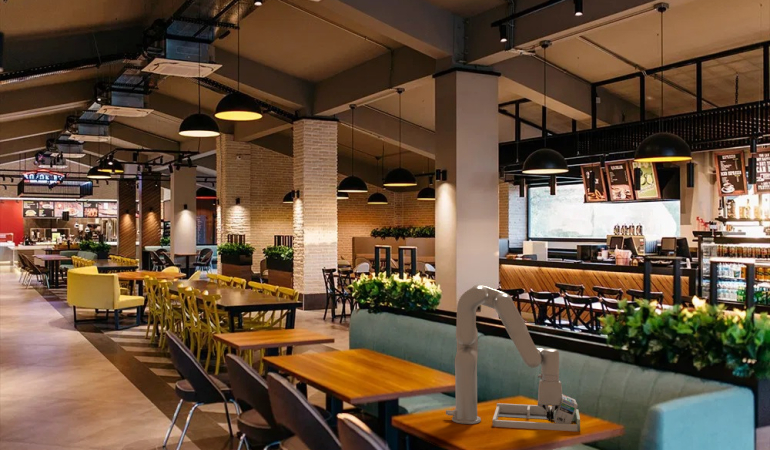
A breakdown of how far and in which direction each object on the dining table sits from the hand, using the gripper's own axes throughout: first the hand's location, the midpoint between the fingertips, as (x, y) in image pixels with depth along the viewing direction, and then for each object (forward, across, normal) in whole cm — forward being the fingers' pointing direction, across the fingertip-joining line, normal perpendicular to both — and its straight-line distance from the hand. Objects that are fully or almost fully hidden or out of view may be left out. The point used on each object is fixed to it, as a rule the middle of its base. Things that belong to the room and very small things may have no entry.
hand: (550, 420), depth 295 cm
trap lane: (+2, -6, +4) cm, 7 cm away
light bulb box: (+1, +4, 0) cm, 4 cm away
